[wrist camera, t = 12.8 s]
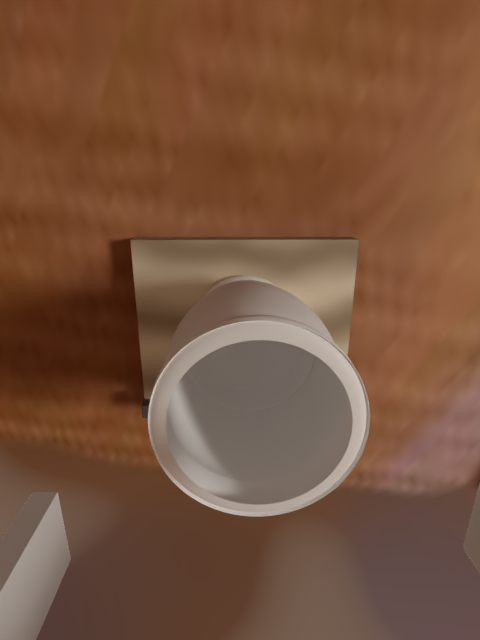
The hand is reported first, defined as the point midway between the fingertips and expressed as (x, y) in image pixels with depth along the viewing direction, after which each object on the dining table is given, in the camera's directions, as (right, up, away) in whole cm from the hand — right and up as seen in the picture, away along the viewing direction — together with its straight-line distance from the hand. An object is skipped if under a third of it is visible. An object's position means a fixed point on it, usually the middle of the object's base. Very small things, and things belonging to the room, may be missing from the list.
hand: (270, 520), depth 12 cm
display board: (-1, +7, +21) cm, 22 cm away
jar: (0, +6, +20) cm, 21 cm away
